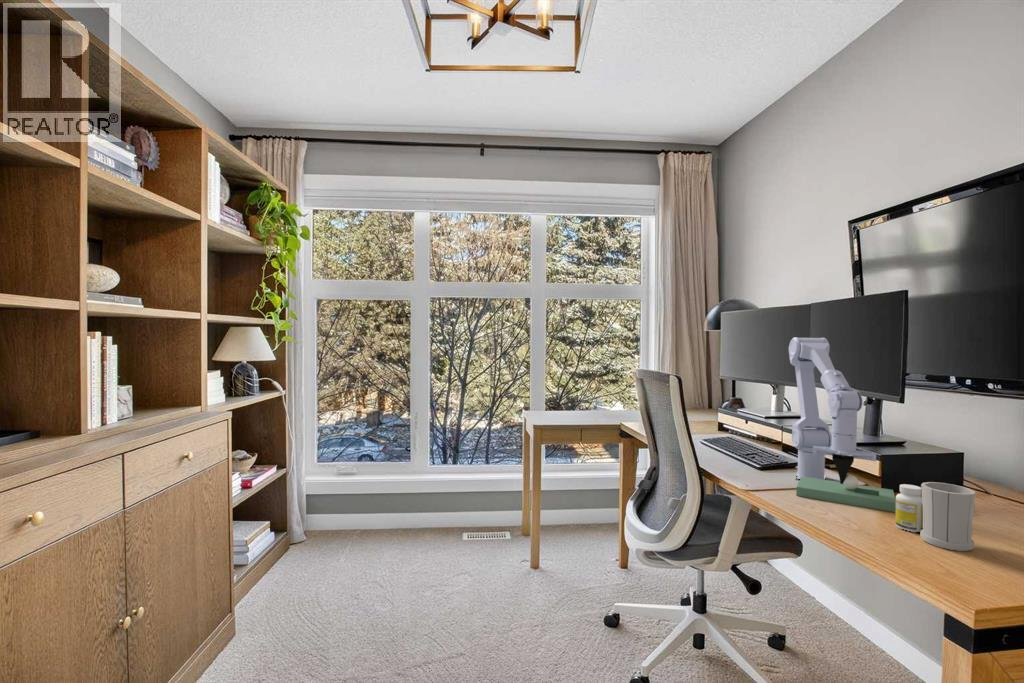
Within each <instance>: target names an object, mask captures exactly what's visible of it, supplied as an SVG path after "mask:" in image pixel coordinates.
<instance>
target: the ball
mask: <svg viewBox="0 0 1024 683" xmlns="http://www.w3.org/2000/svg"><path fill="white" fill-rule="evenodd" d="M842 485H843V487H844V488H846V489H848V490H854V489H856V488H857V487H858V485H860V483H859V480H858V479H857V477H856V476H855V475H852V474H847V475H846V479H845V481H844V482H843V484H842Z"/></svg>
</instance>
